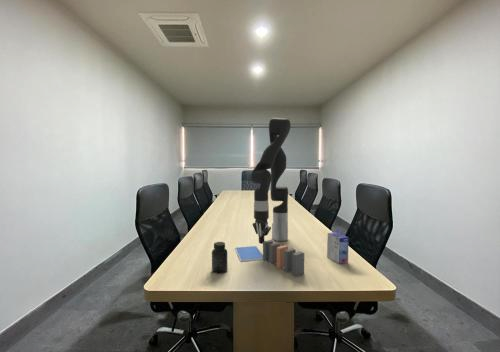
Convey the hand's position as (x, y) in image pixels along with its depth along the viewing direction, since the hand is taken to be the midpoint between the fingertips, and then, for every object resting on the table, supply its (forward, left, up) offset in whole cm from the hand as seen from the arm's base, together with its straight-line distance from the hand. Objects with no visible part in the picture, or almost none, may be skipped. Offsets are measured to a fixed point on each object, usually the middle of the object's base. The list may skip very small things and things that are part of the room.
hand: (261, 243), depth 120 cm
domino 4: (+20, 0, -7) cm, 21 cm away
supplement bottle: (+2, -25, -7) cm, 26 cm away
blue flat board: (-7, -3, -8) cm, 11 cm away
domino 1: (+5, 0, -7) cm, 9 cm away
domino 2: (+10, 0, -7) cm, 12 cm away
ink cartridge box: (+25, +27, -7) cm, 38 cm away
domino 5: (+25, 0, -7) cm, 26 cm away
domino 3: (+15, 0, -7) cm, 17 cm away
